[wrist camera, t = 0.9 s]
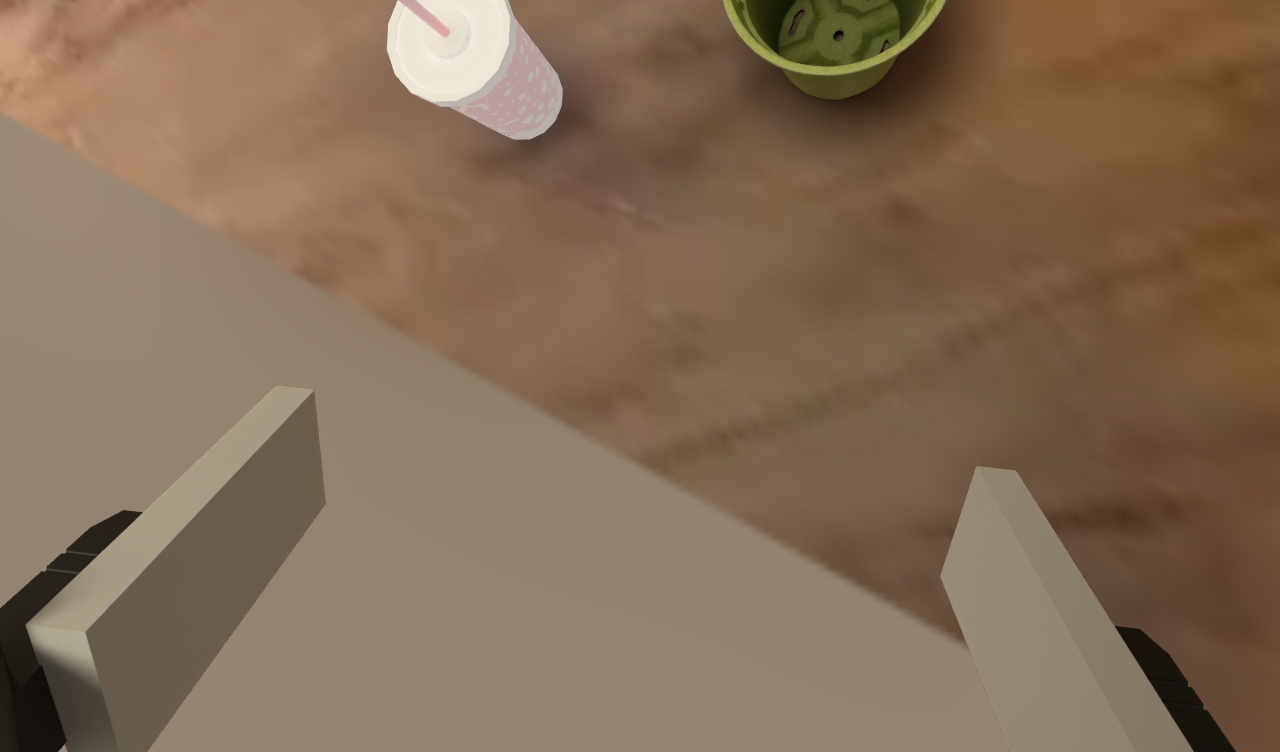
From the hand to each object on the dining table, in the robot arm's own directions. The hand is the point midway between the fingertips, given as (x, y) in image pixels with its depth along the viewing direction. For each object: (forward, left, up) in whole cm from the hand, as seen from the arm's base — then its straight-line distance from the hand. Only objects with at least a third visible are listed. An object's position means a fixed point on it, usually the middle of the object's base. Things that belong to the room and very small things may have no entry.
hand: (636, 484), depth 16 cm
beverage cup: (-3, -22, -27) cm, 34 cm away
